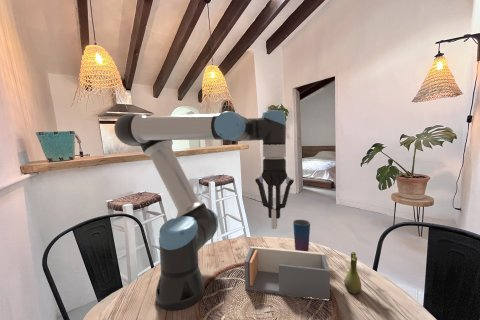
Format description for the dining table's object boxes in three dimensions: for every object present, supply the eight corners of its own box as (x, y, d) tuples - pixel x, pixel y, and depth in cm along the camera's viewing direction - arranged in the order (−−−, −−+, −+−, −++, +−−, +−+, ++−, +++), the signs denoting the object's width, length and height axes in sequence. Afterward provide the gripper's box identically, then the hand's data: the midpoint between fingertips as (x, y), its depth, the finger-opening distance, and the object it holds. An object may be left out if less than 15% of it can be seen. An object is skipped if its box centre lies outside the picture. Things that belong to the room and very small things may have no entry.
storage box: (245, 289, 70) (244, 261, 69) (251, 270, 81) (250, 246, 80) (329, 301, 64) (329, 271, 63) (324, 279, 74) (324, 253, 74)
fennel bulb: (355, 298, 65) (356, 260, 64) (340, 289, 69) (340, 253, 68) (364, 290, 68) (365, 254, 68) (349, 282, 72) (349, 248, 72)
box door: (252, 286, 70) (251, 262, 69) (249, 285, 70) (249, 262, 69) (257, 271, 78) (257, 250, 77) (255, 270, 78) (255, 249, 78)
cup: (311, 262, 86) (311, 225, 85) (293, 260, 87) (293, 224, 86) (309, 253, 92) (309, 219, 91) (293, 252, 94) (292, 219, 93)
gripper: (295, 157, 72) (294, 225, 74) (257, 157, 76) (258, 221, 78) (293, 158, 65) (293, 233, 67) (252, 158, 69) (252, 229, 71)
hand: (274, 227), depth 72 cm, fingers closed
